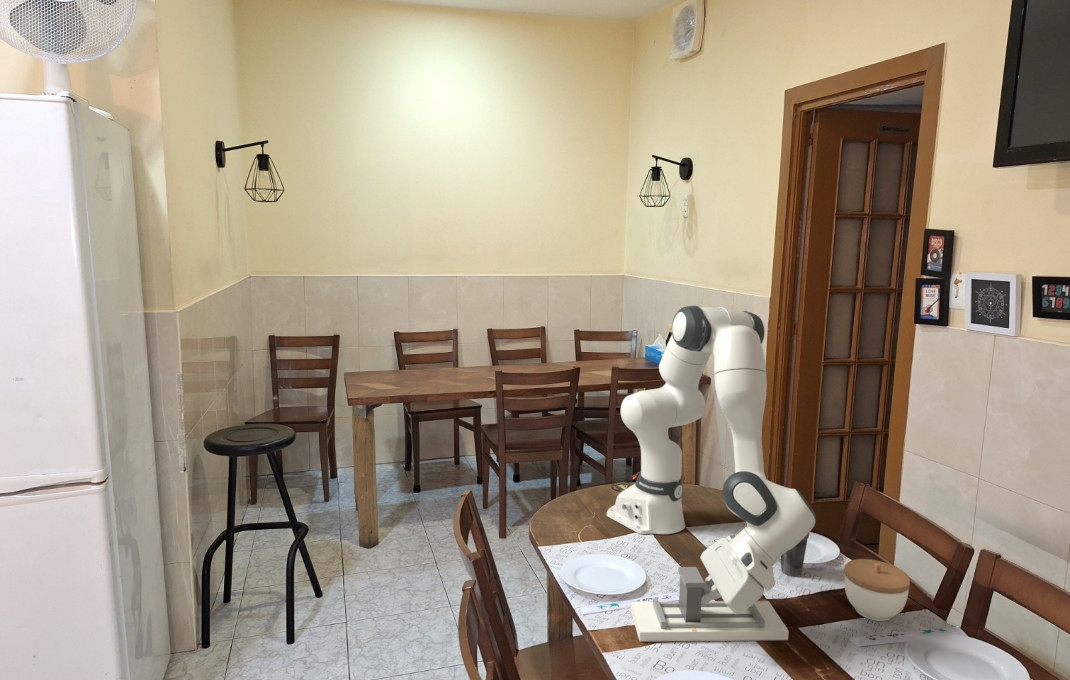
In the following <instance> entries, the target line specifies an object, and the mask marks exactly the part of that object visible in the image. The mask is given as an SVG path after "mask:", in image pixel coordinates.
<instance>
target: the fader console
mask: <svg viewBox="0 0 1070 680" xmlns="http://www.w3.org/2000/svg"><path fill="white" fill-rule="evenodd" d="M630 612H631V615H632V616H631V617H632V619H633V623H634V626H635V630H636V634H637V638H638V640H639V642H641V643H642V642H719V641H720V642H723V641H724V642H726V641H728V642H730V641H731V642H732V641H733V642H736V641H737V642H739V641H740V642H741V641H745V642H746V641H789V630H788V627H786V625H785V623H784V622H783V619H781V618H780V616H779V614H778V613H777V611H776V610H775V608H774V607H773V605H772V604H771V603H770V601H769V600H757V601H756V602H755V603H754V604H753V605H752V606H751V607H750V608H748V609H747V610H746V611H744V612H743V613H740V614H735V613H734V612H733V611H732V610H731V609H730V608H729V607H728V606H727V605H726V604H725V602H724V600H721V601H719V600H718V601H714V600H711V601H710V602H709V603H707V604H706V605H704V604H703V603H702V602H701V620H700V622H686V623H685V620H684V618H683V616H682V613H681V611H680V609H679V601H659V599H658V598H655V597H654V598H652V601H632V602H630Z"/></svg>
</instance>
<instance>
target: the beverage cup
mask: <svg viewBox="0 0 1070 680" xmlns="http://www.w3.org/2000/svg"><path fill="white" fill-rule="evenodd" d="M810 532H811V531H810ZM810 532H809V533H808V534H807V535H806V536H805V537H804V538H803V539H802V540H801V541H800V542H799V543H798V544H797V545H796V546H795V547H793V548H792V549H790V550H788V551H786V552H785V553H783V555H782V556H781V557H780V568H781V570H780V572H781V573H782V574H784V575H786V576H787V577H791V578H797V577H801V575H802V571H803V568H804V567H803V566H804V562H805V556H806V550H807V545H808V544H807V543H808V539H809V536H810Z"/></svg>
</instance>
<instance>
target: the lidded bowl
mask: <svg viewBox="0 0 1070 680" xmlns="http://www.w3.org/2000/svg"><path fill="white" fill-rule="evenodd" d="M843 571H844V581H843V582H844V591H845V594H846V598H847V600H848V601H849V603H850V605H852V607H853V608H854V610H855V612H856V613H858V615H860V616H862V617H863V618H865V619H868V620H871V621H876V622H886V621H889V620H891V619H892V618H894V617H896V616H898V615H900V614H899V613H901V612H902V611H903V610H904V608H905V606H906V603H907V600H908V597H909V592H910V590H909V589H910V586H911V578H910V577H909V575H908V574H907V573H906V571H904V570H903V569H901V568H899V567H897V566H895V565H892V564H891V563H888V562H884V561H881V560H877V559H870V558H869V559H868V558H857V559H856V558H855V559H852V560H848V561H847V562H846V564H845V565H844V568H843Z"/></svg>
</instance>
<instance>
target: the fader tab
mask: <svg viewBox="0 0 1070 680" xmlns="http://www.w3.org/2000/svg"><path fill="white" fill-rule="evenodd" d="M677 571H678V574H679V592H678V593H679V594H678V595H679V596H678V602H679V609H680V611H681V613H682V616H683V618H684V620H685V623H686V622H700V620H701V599H702V587H704V584H705V583H704V581H705V580H704V579H703V577H702V576H701V573H700V571H699V570H698V567H697V566H678V567H677Z"/></svg>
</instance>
